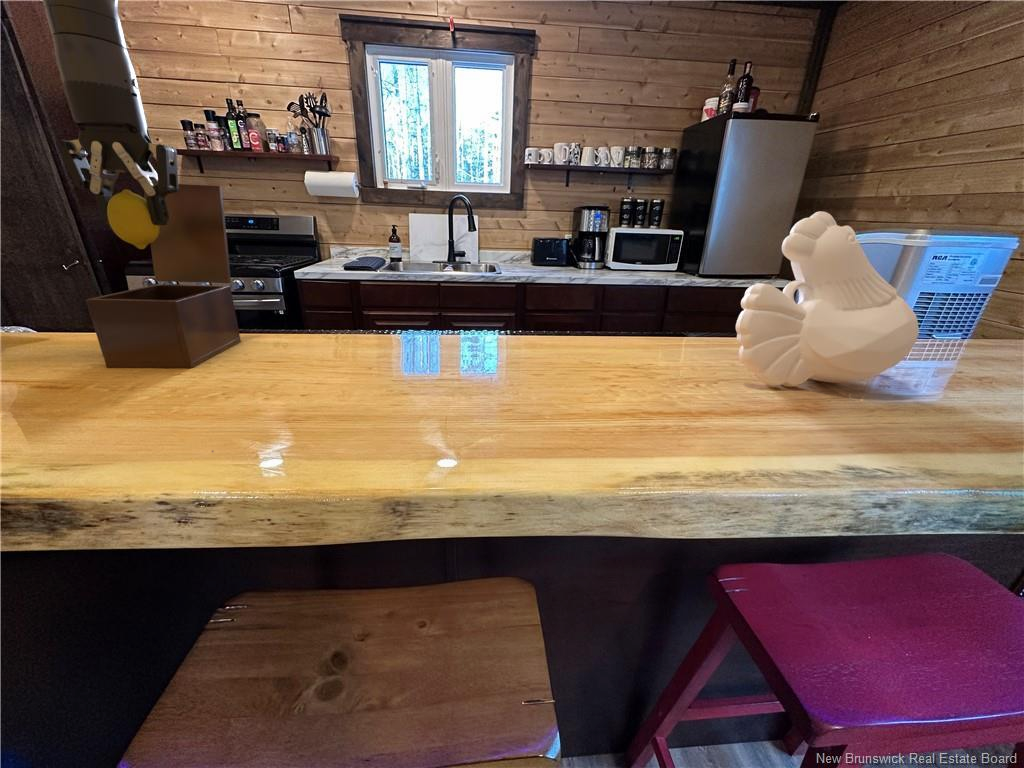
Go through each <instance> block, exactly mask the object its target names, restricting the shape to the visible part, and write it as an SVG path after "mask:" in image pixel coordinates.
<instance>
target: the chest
mask: <svg viewBox="0 0 1024 768" xmlns="http://www.w3.org/2000/svg"><path fill="white" fill-rule="evenodd" d="M85 302H86V305H87V308H88V312H89V315H90V318H91V321H92V325H93V328H94V331H95V335H96V338H97V341H98V344H99V348H100V351H101V354H102V357H103V361H104V364H105V367H106V368H134V369H135V368H137V369H138V368H140V369H143V368H145V369H146V368H147V369H148V368H149V369H153V368H154V369H192V368H195V367H196V366H198V365H200V364H202V363H204V362H206V361H207V360H209V359H211V358H213V357H215V356H217V355H218V354H220V353H222V352H224V351H226V350H228V349H230V348H232V347H233V346H235V345H237V344H239V343H241V342H242V340H241V334H240V329H239V325H238V320H237V314H236V309H235V304H234V298H233V293H232V287H231V286H230V285H213V284H212V285H208V284H172V283H171V284H169V283H167V284H166V283H156V284H152V285H151V284H150V285H146V286H142V287H138V288H133V289H128V290H123V291H119V292H114V293H110V294H104V295H99V296H96V297H91V298H86V299H85Z"/></svg>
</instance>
